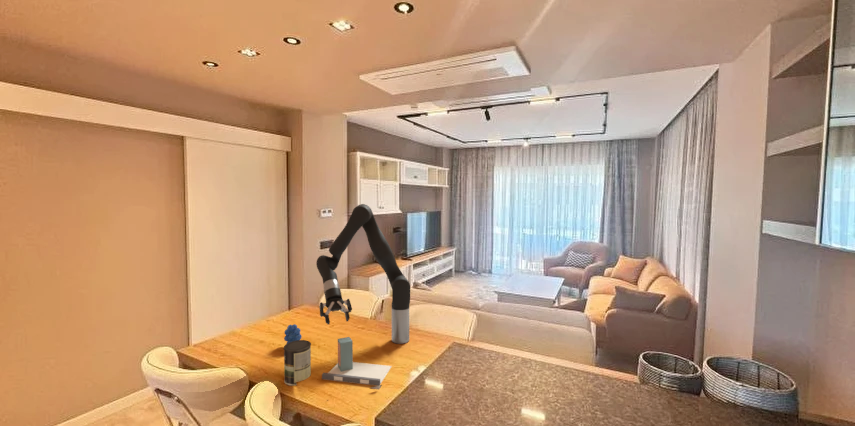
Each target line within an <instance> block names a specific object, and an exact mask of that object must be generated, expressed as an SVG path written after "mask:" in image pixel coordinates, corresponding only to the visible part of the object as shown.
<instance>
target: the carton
mask: <svg viewBox="0 0 855 426" xmlns="http://www.w3.org/2000/svg"><path fill="white" fill-rule="evenodd" d="M353 343H354V342H353V339H352V338H351V337H350V336H346V337H341V338H337V363H338V368H339V369H340V371H341V372H342V371H346V370H350V369H353V362H354V361H353V359H354V357H353V351H354V350H353V347H354V345H353Z"/></svg>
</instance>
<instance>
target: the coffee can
mask: <svg viewBox="0 0 855 426" xmlns="http://www.w3.org/2000/svg"><path fill="white" fill-rule="evenodd" d="M311 346H312V342H310V341H309V340H304V339H300V340H297V341H292V342H289V343H287V342H286V344H285V345H284V346H283V363H284V364H283V365H284V367H283V370H284V371H283V372H284V375H283V376H284V377H283V378H284V381H283V382H284V384H285V385H287V386H289V387H290V386H291V387H292V386H293V387H295V386H298V384H297V382H298V383H299V382H302V381H304V380H306V379H309V377H310V376H311V373H312V372H311V370H312V369H311V367H312V365H311V364H312V362H311V360H312V356H311V354H312V353H311V352H312V350H311Z"/></svg>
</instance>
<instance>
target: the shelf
mask: <svg viewBox="0 0 855 426" xmlns="http://www.w3.org/2000/svg"><path fill="white" fill-rule="evenodd" d="M392 367H393V365H385V364H377V363H376V364H374V363H366V362H356V361H353V369H350V370H346V371H342V372H341V371H340V369H339V368H338V362H337V363H336V364H335V366H333V367H332V369H330V371H328V372H323V373H322V374H321V380H325V381H326V380H327V381H334V382H343V383H350V384H351V383H353V384H362V385H368V386H372V387H369V389H372V390H380V389H381V387H383V384H382V383H383V381H384V380H385V378H386V376H387V374H388V373H389V371H391V368H392Z"/></svg>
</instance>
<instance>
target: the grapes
mask: <svg viewBox="0 0 855 426" xmlns="http://www.w3.org/2000/svg"><path fill="white" fill-rule="evenodd" d="M284 335H285V336H284V338H283V339H284V341H285V342H286V344H287V343H289V342H292V341H297V340H302V334H301V329H300V327H298V325H297V324H294V323H293V324H289V325H288V326H287V328H286V329H284Z"/></svg>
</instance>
